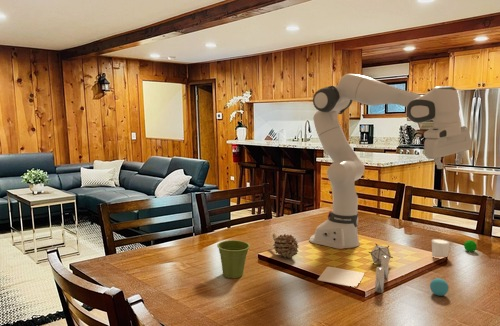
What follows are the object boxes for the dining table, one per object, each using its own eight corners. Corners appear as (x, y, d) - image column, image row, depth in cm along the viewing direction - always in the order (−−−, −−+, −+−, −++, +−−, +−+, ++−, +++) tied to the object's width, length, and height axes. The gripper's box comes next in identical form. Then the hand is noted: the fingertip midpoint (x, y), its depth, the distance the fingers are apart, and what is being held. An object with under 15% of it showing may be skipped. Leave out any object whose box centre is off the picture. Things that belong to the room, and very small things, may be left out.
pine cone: (304, 261, 159) (305, 237, 158) (283, 264, 156) (284, 240, 155) (280, 244, 180) (280, 223, 178) (260, 247, 176) (260, 225, 175)
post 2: (379, 278, 144) (380, 257, 143) (380, 275, 146) (381, 254, 145) (387, 279, 143) (388, 258, 142) (388, 277, 145) (389, 255, 144)
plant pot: (237, 284, 137) (238, 252, 136) (210, 276, 144) (210, 246, 142) (255, 273, 147) (255, 243, 146) (229, 266, 154) (229, 238, 152)
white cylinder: (450, 261, 162) (452, 244, 161) (432, 259, 163) (433, 243, 163) (446, 255, 169) (447, 239, 168) (428, 254, 170) (429, 238, 169)
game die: (380, 275, 156) (377, 260, 150) (366, 261, 162) (362, 246, 156) (398, 263, 157) (396, 248, 151) (383, 249, 164) (381, 234, 158)
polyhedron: (471, 253, 171) (471, 243, 171) (461, 250, 176) (461, 239, 175) (479, 252, 173) (479, 241, 173) (468, 248, 178) (469, 238, 177)
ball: (429, 296, 130) (430, 280, 129) (429, 289, 135) (430, 274, 134) (448, 300, 128) (449, 283, 127) (447, 293, 132) (449, 277, 132)
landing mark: (317, 280, 142) (317, 279, 142) (327, 266, 154) (327, 266, 154) (357, 288, 136) (357, 287, 136) (364, 273, 148) (364, 273, 148)
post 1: (374, 292, 133) (375, 269, 132) (375, 289, 135) (376, 266, 134) (382, 293, 132) (383, 270, 131) (383, 290, 134) (384, 267, 133)
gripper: (460, 125, 154) (462, 159, 157) (420, 134, 147) (422, 170, 149) (475, 125, 148) (476, 161, 151) (433, 134, 141) (436, 172, 143)
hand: (449, 166), depth 150 cm, fingers open, 8 cm apart
